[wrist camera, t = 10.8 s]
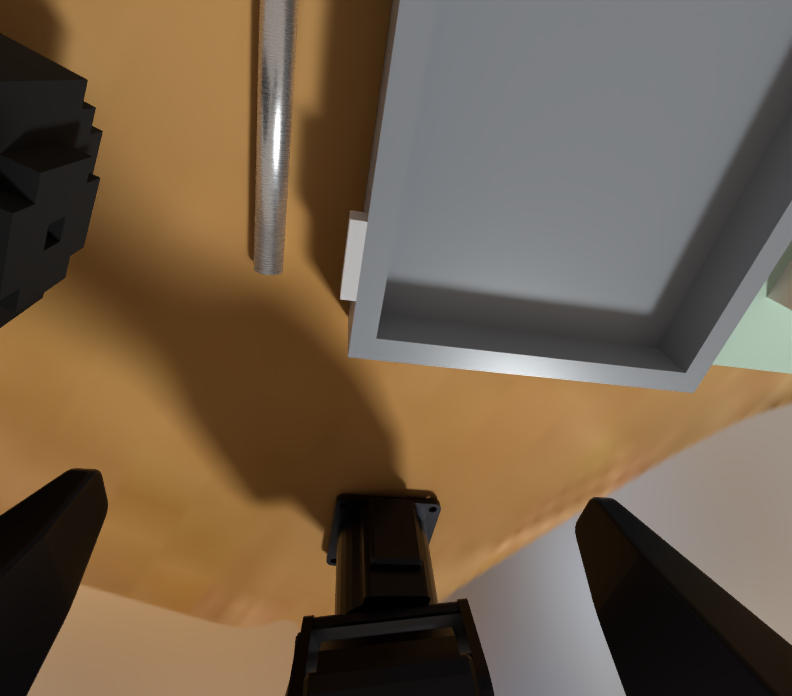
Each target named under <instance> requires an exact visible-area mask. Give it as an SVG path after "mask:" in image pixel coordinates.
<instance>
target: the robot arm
mask: <svg viewBox="0 0 792 696" xmlns="http://www.w3.org/2000/svg"><path fill="white" fill-rule="evenodd" d="M344 502H345V503H344ZM107 510H108V500H107V495H106V491H105V486H104V482H103V477H102V474H101V472H100V471H99V470H96V469H82V468H74V469H70V470H68V471H66V472H64V473H63V474H61V475H60V476H58V477H57V478H55V479H54V480H52V481H51V482H49V483H48V484H47V485H45V486H44V487H42V488H41V489H39V490H38V491H36V492H35V493H33V494H32V495H30V496H29V497H27V498H26V499H24V500H23V501H21V502H20V503H18V504H17V505H15V506H14V507H12V508H11V509H9V510H8V511H6V512H5V513H3V514H2V515H0V696H27V694H28V692H29V690H30V688H31V686H32V684H33V682H34V680H35V678H36V676H37V674H38V672H39V670H40V668H41V666H42V664H43V662H44V660H45V659H46V656H47V655H48V652H49V651H50V649H51V647H52V645H53V643H54V641H55V638H56V637H57V635H58V632H59V631H60V629H61V627H62V625H63V623H64V621H65V619H66V616H67V614H68V612H69V610H70V608H71V605H72V603H73V600H74V598H75V596H76V593H77V590H78V588H79V585H80V583H81V580H82V578H83V575H84V572H85V570H86V567H87V564H88V562H89V559H90V557H91V554H92V551H93V549H94V546H95V544H96V541H97V538H98V536H99V533H100V530H101V528H102V525H103V523H104V520H105V517H106V514H107ZM440 510H441V507H440V502H439V501H438V500H436V499H426V498H406V497H387V496H368V495H349V494H342V495H339V496H338V497H337V498H336V501H335V508H334V514H333V520H332V526H331V533H330V539H329V545H328V551H327V563H328V564H329V565H333V566H336V593H335V615H329V616H320V617H314V615H312V616H304V617H303V622H302V628H301V632H299V633H298V635H297V636H296V640H295V650H294V651H295V652H294V659H293V664H292V670H291V676H290V681H289V684H288V688H287V691H286V694H285V696H494V691H493V687H492V683H491V678H490V674H489V670H488V667H487V663H486V660H485V657H484V653H483V650H482V647H481V643H480V640H479V637H478V634H477V630H476V627H475V623H474V620H473V617H472V613H471V610H470V607H469V604H468V600H467V598H466V599H457V601H456V602H447V603H438V600H437V594H436V588H435V582H434V576H433V569H432V563H431V557H430V551H429V542H430V540H431V537H432V534H433V531H434V528H435V525H436V522H437V519H438V516H439V513H440ZM575 534H576V538H577V542H578V546H579V550H580V554H581V557H582V561H583V565H584V569H585V572H586V577H587V580H588V584H589V588H590V592H591V595H592V599H593V603H594V606H595V609H596V613H597V616H598V619H599V621H600V625H601V627H602V630H603V633H604V636H605V639H606V641H607V644H608V647H609V649H610V652H611V655H612V658H613V661H614V663H615V666H616V669H617V672H618V674H619V677H620V680H621V683H622V685H623V688H624V691H625V694H626V696H792V645H791V644H790V643H788V642H787V641H786V640H785V639H783V638H782V637H781V636H780V635H779V634H777V633H776V632H775V631H774V630H773V629H771V628H770V627H769V626H768V625H767V624H765V623H764V622H763V621H761V620H760V619H759V618H758V617H757V616H756V615H754V614H753V613H752V612H751V611H750V610H748V609H747V608H746V607H745V606H743V605H742V604H741V603H740V602H739V601H737V600H736V599H735V598H734V597H733V596H731V595H730V594H729V593H728V592H726V591H725V590H724V589H723V588H722V587H720V586H719V585H718V584H717V583H716V582H714V581H713V580H712V579H711V578H709V577H708V576H707V575H706V574H705V573H703V572H702V571H701V570H700V569H699V568H697V567H696V566H695V565H694V564H692V563H691V562H690V561H689V560H688V559H686V558H685V557H684V556H683V555H681V554H680V553H679V552H678V551H677V550H675V549H674V548H673V547H672V546H670V545H669V544H668V543H667V542H666V541H665V540H663V539H662V538H661V537H660V536H658V535H657V534H656V533H655V532H654V531H652V530H651V529H650V528H649V527H648V526H646V525H645V524H644V523H643V522H642V521H640V520H639V519H638V518H637V517H635V516H634V515H633V514H632V513H631V512H629V511H628V510H627V509H626V508H625V507H623V506H622V505H621V504H620V503H618V502H617V501H616V500H614V499H612V498H603V497H593V498H592V499H590V500H589V502H588V503H587V505H586V507H585V508H584V510H583V512H582V514H581V515H580V517H579V519H578V521H577V522H576V526H575Z"/></svg>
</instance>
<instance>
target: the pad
mask: <svg viewBox="0 0 792 696" xmlns="http://www.w3.org/2000/svg"><path fill="white" fill-rule="evenodd" d="M791 259H792V241H791V242H790V244H789V246H788V247H787V249H786V250H785V252H784V253H783V255H782V256H781V258H780V260H779V261H778V263H777V264H776V266H775V267H774V269H773V270H772V272H771V274H770V275H769V277H768V278H767V280H766V281H765V283H764V284H763V286H762V288H761V289H760V291H759V292H758V294H757V295H756V297H755V298H754V300H753V302H752V303H751V305H750V306H749V308H748V309H747V311H746V312H745V314H744V316H743V317H742V319H741V320H740V322H739V323H738V325H737V326H736V328H735V330H734V331H733V333H732V334H731V336H730V337H729V339H728V340H727V342H726V343H725V345H724V347H723V348H722V350H721V351H720V353H719V354H718V356H717V357H716V359H715V361H714V362H713V365H722V366H730V367H739V368H747V369H756V370H765V371H773V372H782V373H790V374H792V310H790V309H788V308H786V307H784V306H782V305H781V304H779V303H777V302H775V301H773V300H771V299H769V298H767V295H768V294H769V292H770V291H771V289H772V288H773V286H774V285H775V283H776V282H777V280H778V279H779V277H780V276H781V274H782V273H783V271H784V270H785V268H786V267H787V265H788V263H789V262H790V260H791Z"/></svg>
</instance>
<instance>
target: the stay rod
mask: <svg viewBox="0 0 792 696" xmlns="http://www.w3.org/2000/svg"><path fill="white" fill-rule="evenodd" d="M297 18H298V0H260V3H259V48H258V94H257V139H256V184H255V229H254V270H255V271H256V272H258V273H260V274H264V275H278V274H281V273H282V272H283V261H284V244H285V226H286V209H287V192H288V174H289V157H290V139H291V122H292V105H293V87H294V70H295V52H296V35H297Z"/></svg>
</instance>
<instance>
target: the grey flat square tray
mask: <svg viewBox="0 0 792 696" xmlns="http://www.w3.org/2000/svg"><path fill="white" fill-rule="evenodd" d="M791 241H792V0H392V7H391V14H390V22H389V29H388V36H387V43H386V50H385V58H384V65H383V72H382V79H381V86H380V93H379V101H378V108H377V115H376V122H375V129H374V137H373V144H372V151H371V158H370V165H369V173H368V180H367V187H366V194H365V201H364V209H363V212H359V211H352V210H350V215H349V223H348V231H347V239H346V247H345V255H344V263H343V271H342V279H341V288H340V299H342V300H350V301H351V302H350V309H349V316H348V357H351V358H361V359H370V360H380V361H390V362H399V363H409V364H419V365H428V366H438V367H448V368H457V369H467V370H477V371H487V372H496V373H506V374H516V375H525V376H535V377H545V378H554V379H564V380H574V381H583V382H593V383H603V384H612V385H622V386H632V387H641V388H651V389H661V390H671V391H680V392H690V393H694V392H695V390H696V389H697V387H698V385H699V384H700V382H701V381H702V379H703V378H704V376H705V375H706V373H707V371H708V370H709V368H710V367H711V365H712V364H713V362H714V361H715V359H716V357H717V356H718V354H719V353H720V351H721V350H722V348H723V347H724V345H725V343H726V342H727V340H728V339H729V337H730V336H731V334H732V333H733V331H734V330H735V328H736V326H737V325H738V323H739V322H740V320H741V319H742V317H743V316H744V314H745V312H746V311H747V309H748V308H749V306H750V305H751V303H752V302H753V300H754V298H755V297H756V295H757V294H758V292H759V291H760V289H761V288H762V286H763V284H764V283H765V281H766V280H767V278H768V277H769V275H770V274H771V272H772V270H773V269H774V267H775V266H776V264H777V263H778V261H779V260H780V258H781V256H782V255H783V253H784V252H785V250H786V249H787V247H788V246H789V244H790V242H791Z"/></svg>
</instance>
